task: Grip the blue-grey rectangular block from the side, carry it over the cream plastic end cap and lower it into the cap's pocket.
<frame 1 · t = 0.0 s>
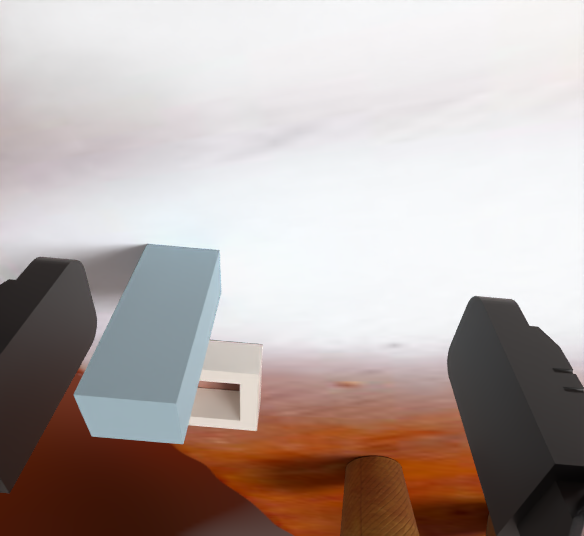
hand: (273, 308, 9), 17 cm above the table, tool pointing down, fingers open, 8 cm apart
disposable coffee cup: (373, 467, 51), on the table
blue-grey rectangular block: (185, 268, 32), on the table
end cap: (208, 370, 40), on the table
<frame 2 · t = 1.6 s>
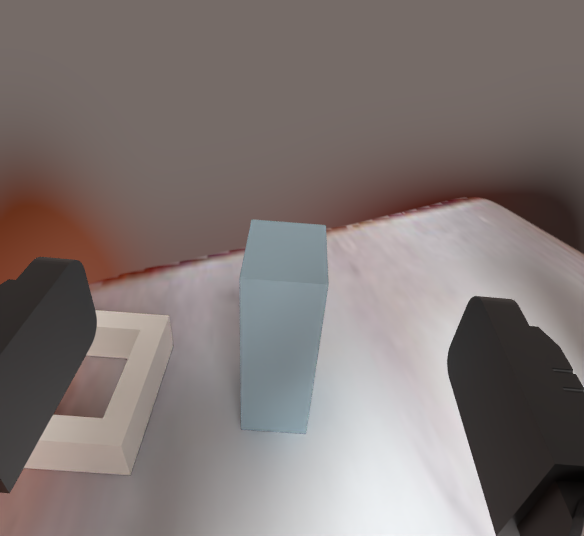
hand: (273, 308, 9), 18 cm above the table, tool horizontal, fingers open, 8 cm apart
blue-grey rectangular block: (276, 397, 29), on the table
end cap: (87, 396, 28), on the table
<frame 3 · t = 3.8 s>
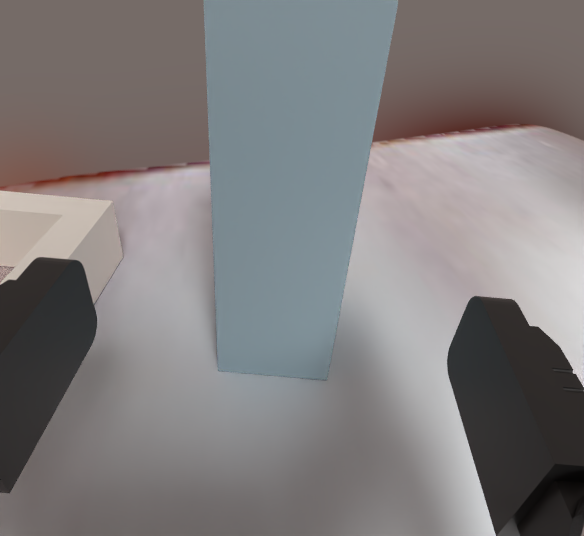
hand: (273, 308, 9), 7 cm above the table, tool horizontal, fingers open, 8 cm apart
blue-grey rectangular block: (277, 327, 18), on the table
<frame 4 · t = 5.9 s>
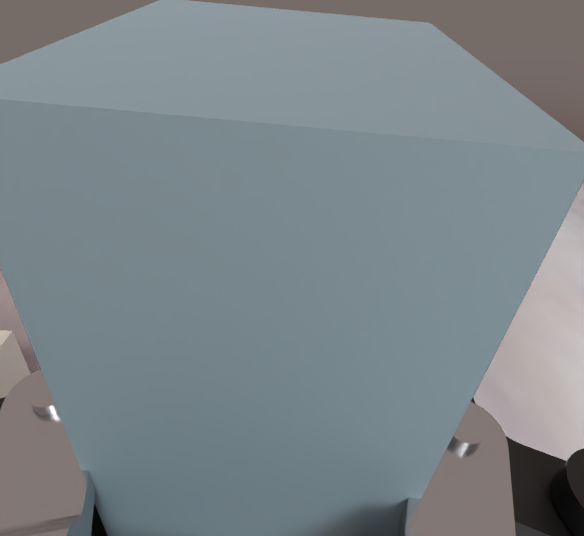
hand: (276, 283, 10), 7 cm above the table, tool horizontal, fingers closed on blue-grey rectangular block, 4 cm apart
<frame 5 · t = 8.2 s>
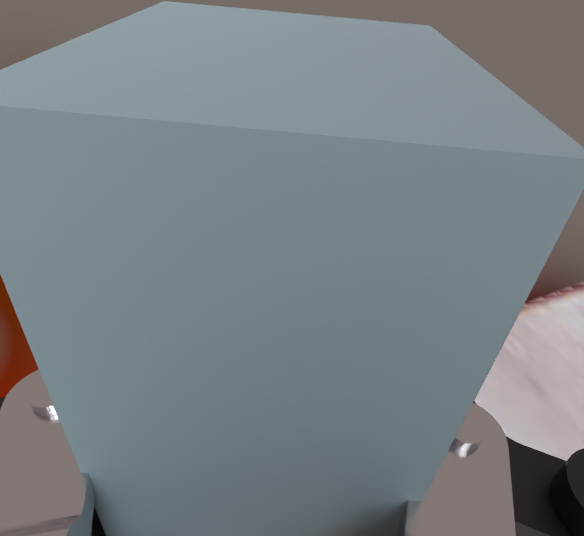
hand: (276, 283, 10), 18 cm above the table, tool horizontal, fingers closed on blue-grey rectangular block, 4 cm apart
when the fingers open (9 cm above the table, at t = 10.7 s): blue-grey rectangular block drops 2 cm, resting in end cap.
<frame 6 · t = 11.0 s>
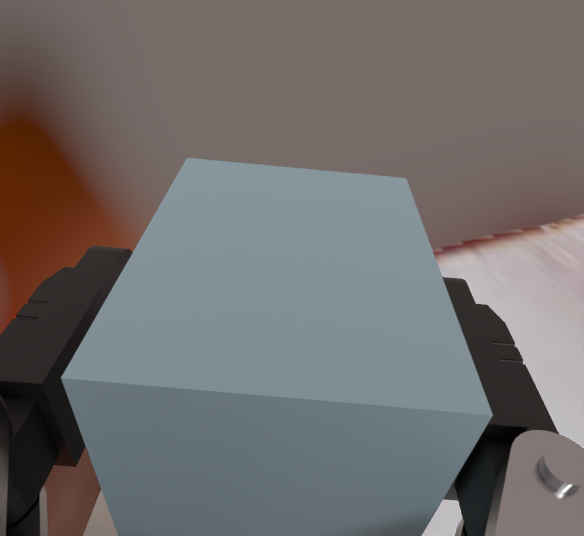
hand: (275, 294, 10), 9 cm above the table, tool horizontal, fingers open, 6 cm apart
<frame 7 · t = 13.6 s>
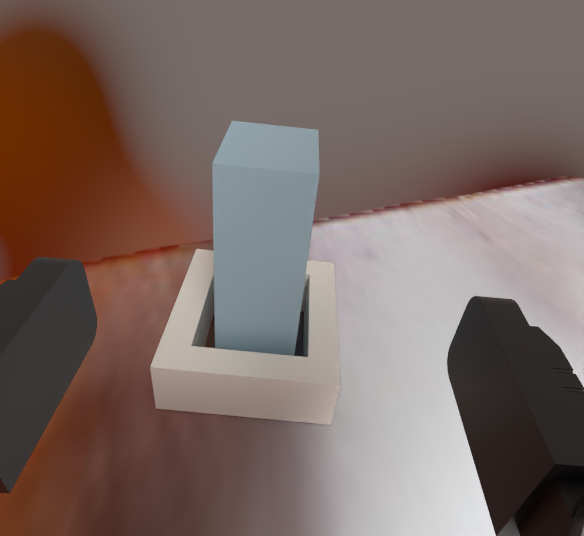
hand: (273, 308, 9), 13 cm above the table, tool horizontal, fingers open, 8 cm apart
blue-grey rectangular block: (257, 346, 26), resting in end cap
end cap: (254, 345, 26), on the table
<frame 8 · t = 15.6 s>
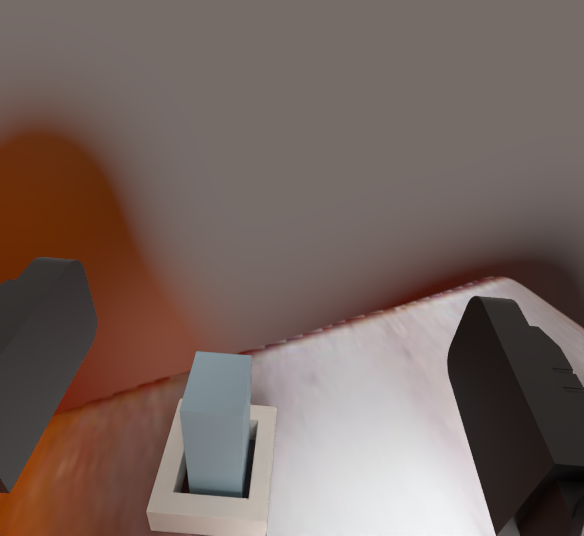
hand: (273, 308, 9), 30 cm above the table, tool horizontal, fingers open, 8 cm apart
blue-grey rectangular block: (221, 473, 37), resting in end cap
end cap: (219, 473, 37), on the table
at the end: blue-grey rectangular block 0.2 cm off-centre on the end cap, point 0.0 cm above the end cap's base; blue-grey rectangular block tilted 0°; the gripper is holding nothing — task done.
